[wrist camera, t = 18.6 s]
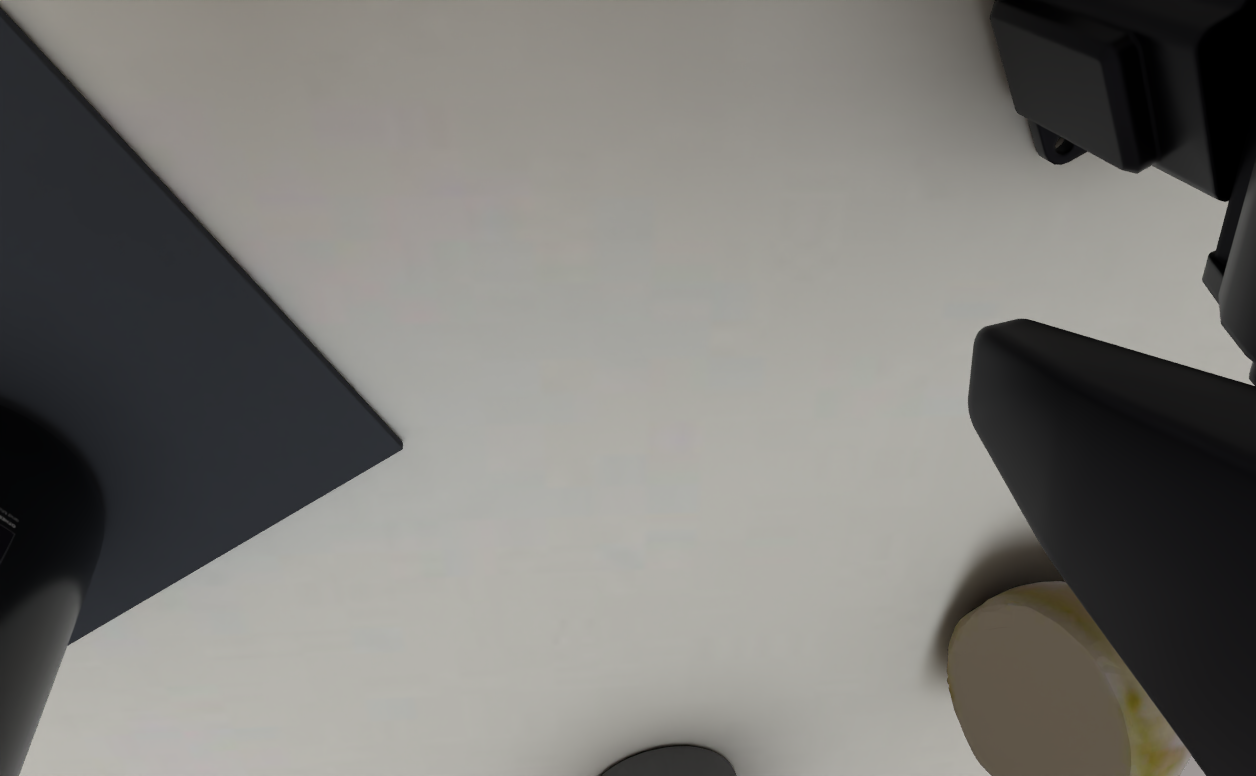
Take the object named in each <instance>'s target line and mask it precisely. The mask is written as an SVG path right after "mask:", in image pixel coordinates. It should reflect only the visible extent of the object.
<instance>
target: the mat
mask: <svg viewBox="0 0 1256 776" xmlns="http://www.w3.org/2000/svg"><path fill="white" fill-rule="evenodd" d="M0 405H2V406H4V407H6V408H9V409H11V410H13V411H15V412H17V413H19V414H21V415H23V416H25V417H27V418H29V419H30V420H32V421H33V422H35V423H37V424H38V425H40V426H41V427H43V428H44V429H46V430H47V431H48V432H50V433H51V434H53V435H54V436H55V437H56V438H57V439H59V440H60V441H61V442H62V443H63V444H64V445H65V446H66V447H67V448H68V449H69V450H70V451H71V452H72V453H73V454H74V455H75V456H76V457H77V458H78V460H79V461H80V462H81V463H82V465H83V466H84V468H85V469H86V471H87V472H88V474H89V475H90V477H91V479H92V481H93V483H94V485H95V487H96V489H97V491H98V494H99V497H100V499H101V503H102V508H103V513H104V525H105V529H104V539H103V544H102V549H101V553H100V557H99V559H98V562H97V565H96V568H95V571H94V574H93V576H92V580H91V583H90V586H89V588H88V591H87V594H86V597H85V599H84V602H83V605H82V607H81V610H80V613H79V615H78V618H77V621H76V623H75V626H74V629H73V632H72V634H71V637H70V640H69V642H68V645H69V644H71V643H73V642H75V641H76V640H78V639H80V638H81V637H83V636H85V635H87V634H88V633H90V632H92V631H93V630H95V629H97V628H98V627H100V626H102V625H104V624H105V623H107V622H109V621H110V620H112V619H114V618H116V617H117V616H119V615H121V614H122V613H124V612H126V611H127V610H129V609H131V608H133V607H134V606H136V605H138V604H139V603H141V602H143V601H144V600H146V599H148V598H150V597H151V596H153V595H155V594H156V593H158V592H160V591H162V590H163V589H165V588H167V587H168V586H170V585H172V584H173V583H175V582H177V581H179V580H180V579H182V578H184V577H185V576H187V575H189V574H191V573H192V572H194V571H196V570H197V569H199V568H201V567H202V566H204V565H206V564H208V563H209V562H211V561H213V560H214V559H216V558H218V557H220V556H221V555H223V554H225V553H226V552H228V551H230V550H231V549H233V548H235V547H237V546H238V545H240V544H242V543H243V542H245V541H247V540H249V539H250V538H252V537H254V536H255V535H257V534H259V533H260V532H262V531H264V530H266V529H267V528H269V527H271V526H272V525H274V524H276V523H278V522H279V521H281V520H283V519H284V518H286V517H288V516H289V515H291V514H293V513H295V512H296V511H298V510H300V509H301V508H303V507H305V506H307V505H308V504H310V503H312V502H313V501H315V500H317V499H318V498H320V497H322V496H324V495H325V494H327V493H329V492H330V491H332V490H334V489H336V488H337V487H339V486H341V485H342V484H344V483H346V482H347V481H349V480H351V479H353V478H354V477H356V476H358V475H359V474H361V473H363V472H365V471H366V470H368V469H370V468H371V467H373V466H375V465H376V464H378V463H380V462H382V461H383V460H385V459H387V458H388V457H390V456H392V455H394V454H395V453H397V452H399V451H400V450H402V449H403V442H402V441H401V440H400V439H399V438H398V437H397V436H396V435H395V434H394V433H393V431H392V430H391V429H390V428H389V427H388V426H387V425H386V424H385V423H384V422H383V421H382V420H381V419H380V417H379V416H378V415H377V414H376V413H375V412H374V411H373V410H372V409H371V408H370V407H369V406H368V404H367V403H366V402H365V401H364V400H363V399H362V398H361V397H360V396H359V395H358V394H357V393H356V391H355V390H354V389H353V388H352V387H351V386H350V385H349V384H348V383H347V382H346V381H345V380H344V379H343V377H342V376H341V375H340V374H339V373H338V372H337V371H336V370H335V369H334V368H333V367H332V366H331V364H330V363H329V362H328V361H327V360H326V359H325V358H324V357H323V356H322V355H321V354H320V353H319V351H318V350H317V349H316V348H315V347H314V346H313V345H312V344H311V343H310V342H309V341H308V340H307V338H306V337H305V336H304V335H303V334H302V333H301V332H300V331H299V330H298V329H297V328H296V327H295V326H294V324H293V323H292V322H291V321H290V320H289V319H288V318H287V317H286V316H285V315H284V314H283V313H282V311H281V310H280V309H279V308H278V307H277V306H276V305H275V304H274V303H273V302H272V301H271V300H270V298H269V297H268V296H267V295H266V294H265V293H264V292H263V291H262V290H261V289H260V288H259V287H258V286H257V284H256V283H255V282H254V281H253V280H252V279H251V278H250V277H249V276H248V275H247V274H246V273H245V271H244V270H243V269H242V268H241V267H240V266H239V265H238V264H237V263H236V262H235V261H234V260H233V258H232V257H231V256H230V255H229V254H228V253H227V252H226V251H225V250H224V249H223V248H222V247H221V246H220V244H219V243H218V242H217V241H216V240H215V239H214V238H213V237H212V236H211V235H210V234H209V233H208V231H207V230H206V229H205V228H204V227H203V226H202V225H201V224H200V223H199V222H198V221H197V220H196V218H195V217H194V216H193V215H192V214H191V213H190V212H189V211H188V210H187V209H186V208H185V207H184V206H183V204H182V203H181V202H180V201H179V200H178V199H177V198H176V197H175V196H174V195H173V194H172V193H171V191H170V190H169V189H168V188H167V187H166V186H165V185H164V184H163V183H162V182H161V181H160V180H159V178H158V177H157V176H156V175H155V174H154V173H153V172H152V171H151V170H150V169H149V168H148V167H147V166H146V164H145V163H144V162H143V161H142V160H141V159H140V158H139V157H138V156H137V155H136V154H135V153H134V151H133V150H132V149H131V148H130V147H129V146H128V145H127V144H126V143H125V142H124V141H123V140H122V138H121V137H120V136H119V135H118V134H117V133H116V132H115V131H114V130H113V129H112V128H111V127H110V126H109V124H108V123H107V122H106V121H105V120H104V119H103V118H102V117H101V116H100V115H99V114H98V113H97V111H96V110H95V109H94V108H93V107H92V106H91V105H90V104H89V103H88V102H87V101H86V100H85V98H84V97H83V96H82V95H81V94H80V93H79V92H78V91H77V90H76V89H75V88H74V87H73V86H72V84H71V83H70V82H69V81H68V80H67V79H66V78H65V77H64V76H63V75H62V74H61V73H60V71H59V70H58V69H57V68H56V67H55V66H54V65H53V64H52V63H51V62H50V61H49V60H48V58H47V57H46V56H45V55H44V54H43V53H42V52H41V51H40V50H39V49H38V48H37V47H36V46H35V44H34V43H33V42H32V41H31V40H30V39H29V38H28V37H27V36H26V35H25V34H24V33H23V31H22V30H21V29H20V28H19V27H18V26H17V25H16V24H15V23H14V22H13V21H12V20H11V18H10V17H9V16H8V15H7V14H6V13H5V12H4V11H3V10H2V9H1V8H0ZM68 645H67V646H68Z"/></svg>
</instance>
